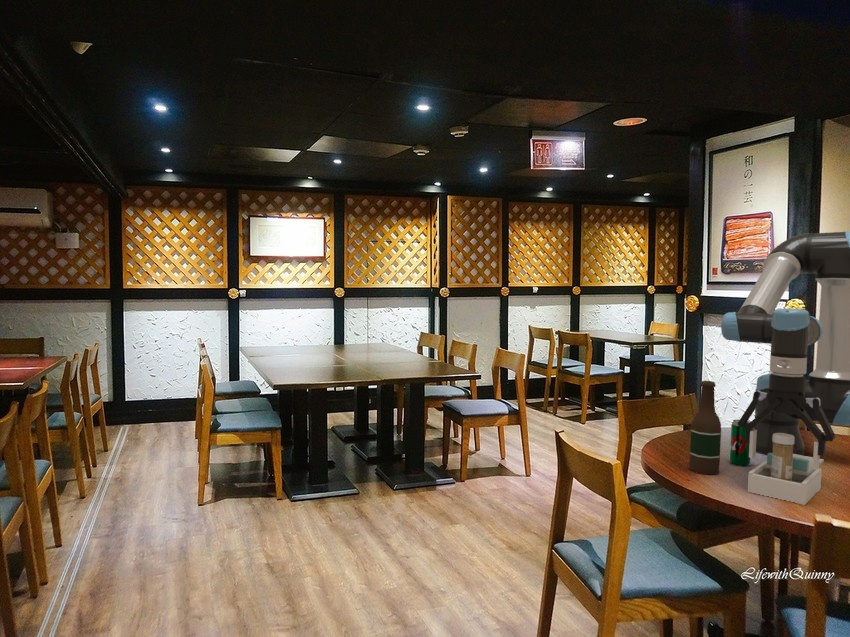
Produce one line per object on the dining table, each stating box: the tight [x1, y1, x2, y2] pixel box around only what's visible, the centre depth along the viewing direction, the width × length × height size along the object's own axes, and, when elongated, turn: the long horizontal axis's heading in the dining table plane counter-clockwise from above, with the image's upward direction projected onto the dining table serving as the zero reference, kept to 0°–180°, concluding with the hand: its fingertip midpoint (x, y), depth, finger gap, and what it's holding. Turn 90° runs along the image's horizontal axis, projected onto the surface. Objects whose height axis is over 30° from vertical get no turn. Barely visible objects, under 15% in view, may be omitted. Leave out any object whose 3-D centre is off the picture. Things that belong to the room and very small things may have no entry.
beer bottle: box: [689, 380, 722, 476], centre depth 168 cm, size 8×8×24 cm
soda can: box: [729, 418, 751, 467], centre depth 175 cm, size 5×5×12 cm
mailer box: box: [747, 459, 823, 506], centre depth 153 cm, size 16×12×5 cm
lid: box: [764, 453, 825, 476], centre depth 159 cm, size 16×10×3 cm, turn 137°
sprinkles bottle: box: [771, 433, 795, 482], centre depth 151 cm, size 5×5×14 cm
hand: (783, 462), depth 151 cm, fingers open, 13 cm apart
